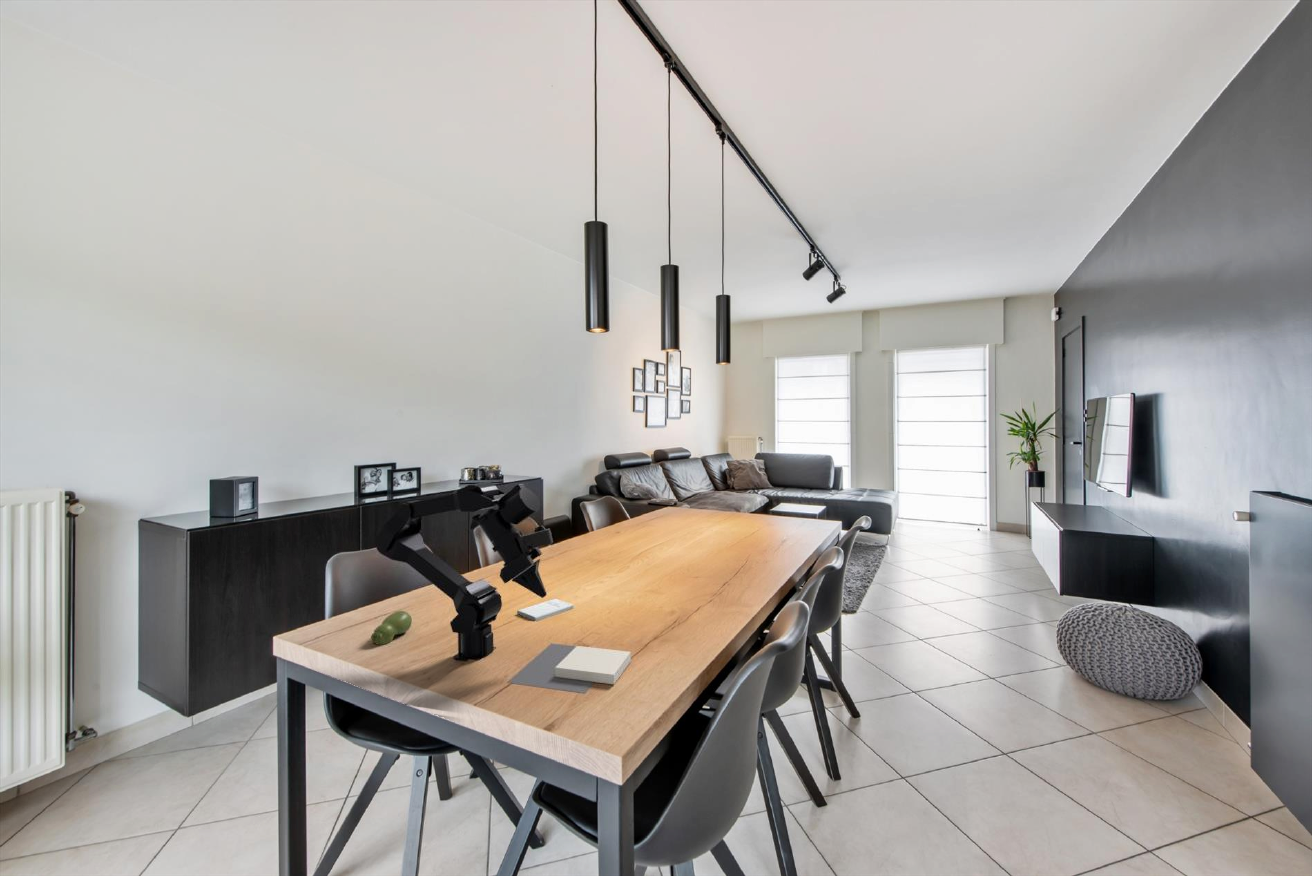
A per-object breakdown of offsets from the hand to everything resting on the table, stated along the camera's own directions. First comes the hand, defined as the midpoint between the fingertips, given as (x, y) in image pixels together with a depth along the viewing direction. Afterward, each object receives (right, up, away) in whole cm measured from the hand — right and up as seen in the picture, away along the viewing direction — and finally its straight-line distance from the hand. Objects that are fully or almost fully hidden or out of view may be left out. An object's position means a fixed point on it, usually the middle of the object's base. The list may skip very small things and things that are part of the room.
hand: (544, 596), depth 105 cm
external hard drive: (-6, -14, +29) cm, 32 cm away
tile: (+5, -12, -4) cm, 14 cm away
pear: (-39, -14, +12) cm, 43 cm away
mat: (+5, -13, -4) cm, 15 cm away
